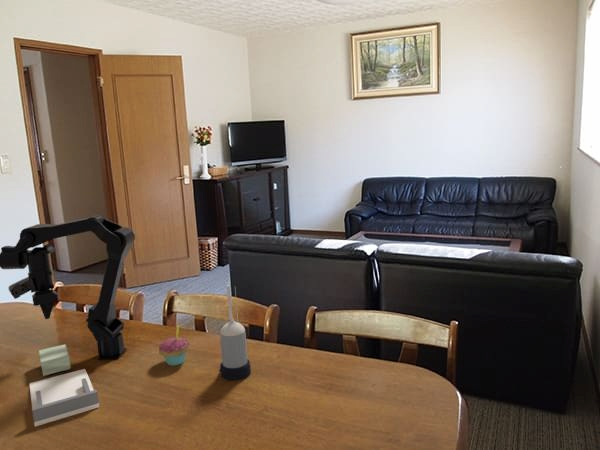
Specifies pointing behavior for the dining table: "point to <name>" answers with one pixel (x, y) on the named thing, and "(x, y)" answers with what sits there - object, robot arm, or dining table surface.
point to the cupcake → (174, 349)
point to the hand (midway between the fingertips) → (47, 318)
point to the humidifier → (233, 348)
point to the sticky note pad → (54, 360)
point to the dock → (62, 397)
